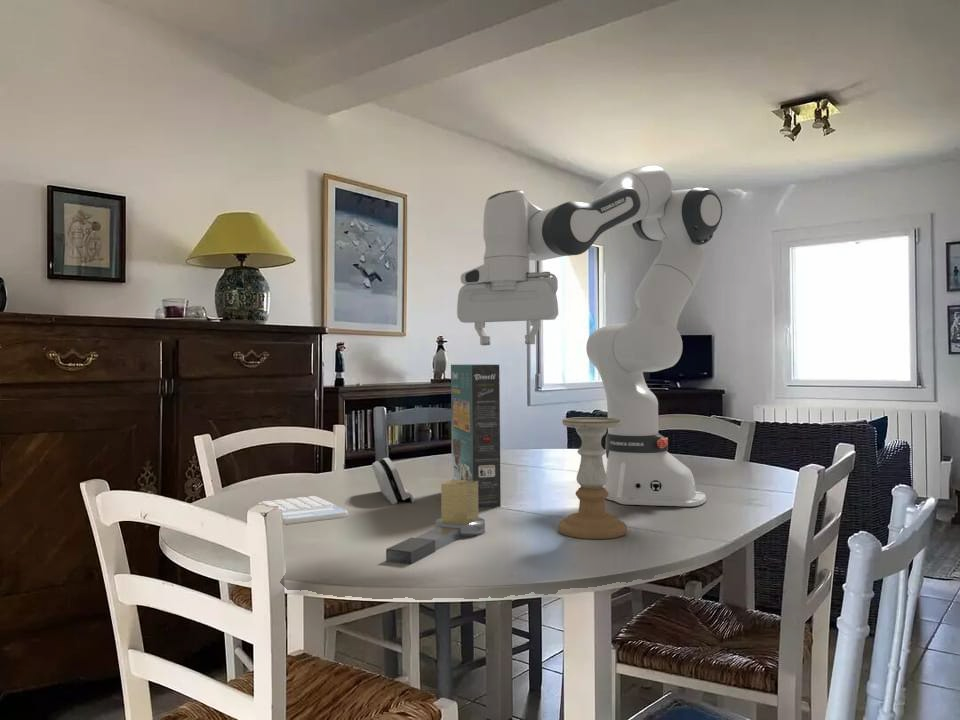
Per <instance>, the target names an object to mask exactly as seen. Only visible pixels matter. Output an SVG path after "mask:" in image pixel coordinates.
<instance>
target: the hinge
mask: <svg viewBox="0 0 960 720" xmlns="http://www.w3.org/2000/svg"><path fill="white" fill-rule="evenodd" d="M371 468H372V471H373V473H374V476H375V478H376V481H377V484H378V486H379V487H378V488H379V490H380V492H381V493H382V494H383V496H384V497H386V499H387V500H388V501H389V502H390V504H392V505H395V504H398V501H399V500H402V501H405V500H407V499H408V500H409V501H410V502H411V503H415V499H414V496H413V494H412V493H410V492H409V491H408V490H407V489H406V488H405V487H404V484H403V482H402V479H401V477H400V474H399V471H398V469H397V467H396V465H395V464H394V463H393V461H392V460H391V459H390V457H384V458H383V457H382V458H381V460H376V461H374V462H373V463H371Z"/></svg>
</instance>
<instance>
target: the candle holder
mask: <svg viewBox="0 0 960 720" xmlns="http://www.w3.org/2000/svg"><path fill="white" fill-rule="evenodd" d="M561 424H562V426H564V427H567V428H575V431H576V434H577V435H578V436H579V437H580V439H581V446H580V447H579V448H578V449H577V454H578V455H580V463H579V467H578V470H577V471H578V472H577V474H576V481H577V483H578V485H579V488H578V489H577V490H576V491H575V496H576V497H577V499H579V505H578V512H574V513H571V514H569V515H568V516H567V517H566V518H564V519H562V520H560V521H559V522H558V524H557V529H558V532H559V533H561V535H564V536H567V537H571V538H576V539H583V540H586V539H587V540H608V539H615V538H620V537H623V536H625V535H626V534H627V532H628V525H627V524H626V523H625V522H624V521H622V520H619V519H618V517H617V516H616V515H614V514H610V513H607V512H606V511H607V509H606V503H605V500H607V499H606V498H607V497H608V495H609V493H608V492H607V491H606V489H605V488H604V485H605V484H606V482H607V475H606V469H605V465H604V461H603V459H604V458H603V456H604V455H606V448H604V447H603V446H602V440H603V437H604V436H605V435H606V434H607V432H608V428H610V427H617V426H619V425H620V424H621V420H620V419H616V418H608V417H603V416H599V417H597V416H594V417H593V416H592V417H591V416H586V417H585V416H583V417H582V416H581V417H580V416H579V417H578V416H577V417H568V418H567V417H566V418H562V421H561Z"/></svg>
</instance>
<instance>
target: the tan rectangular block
mask: <svg viewBox="0 0 960 720" xmlns="http://www.w3.org/2000/svg"><path fill="white" fill-rule="evenodd" d="M440 486H441V487H440V488H441V489H440V490H441V491H440V493H441V494H440V495H441V497H440V498H441V499H440V501H441V509H440V510H441V515H440V516H441V517H440V518H441V523H449V524H459V525H468V524H470V523H472V522H474V521H476V520H478V517H479V508H478V481H470V480H455V479H453V480H452V479H451V480H448V481H445V482H442V483H441V485H440Z"/></svg>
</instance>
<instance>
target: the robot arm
mask: <svg viewBox="0 0 960 720" xmlns="http://www.w3.org/2000/svg"><path fill="white" fill-rule="evenodd" d="M526 196H527V195H526V194H525V192H524V191H523V190H522V191H521V190H518V189H515V190H513V189H512V190H506V191H501V192H497V193H495V194H493V195H490V196H489V198H487V200H486V202H485V206H484V210H483V222H482V223H483V227H482V228H483V234H482V235H483V241H484V244H485V249H484V250H485V252H484V255H483V264H481V265H479V266H477V267H475V268H472V269H470V270H467V271H465V272H463V273H461V275H460V283H461V284H462V286H461V287H460V289H459V291H458V294H457V303H456V304H457V305H456V307H457V308H456V311H457V312H456V316H457V319H458V320H459V321H460V323H464V324H471V323H473V324H474V329H475V331H476V333H477V335H478V336H479V342H480V343H479V345H480V346H491V336H490V335H489V336H488V335H487V333H486V332H485V331H484V329H485V328H486V323H494V322H495V323H501V322H502V323H503V322H505V323H506V322H527V321H528V322H529V325H530V327H531V329H530V331H529V333H528V334H525V335H524V339H525V340H524V343H525V345H536V335H537V334H538V331H539V330H540V328H541V324H542V323H541V321H551V320H552V321H555V320H556V318H557V317H558V316H559V305H558V296H557V293H558V292H557V291H558V288H559V287H558V281H559V280H558V278H557V277H556V275H555V274H553V273H551V272H550V271H542V272H538V271H533V272H532V271H531V272H530V261H536V262H539V261H546V260H552V259H556V258H561V257H569V256H570V257H571V256H580V255H582V254H584V253H585V252H587V251H588V250H589V249H590V248H591V247H592V245H594V243H595V242H596V240H597V239H598V238H599V237H600V236H601V235H602V234H603V233H604V232H606V231H608V230H610V229H612V228H613V229H614V228H615V229H617V228H622V227H624V226H625V227H626V226H629V225H632V228H633V231H634V232H635V233H636V235H637V237H639V238H640V239H642V240H645V241H649V242H658V241H662V242H661V248H660V251H659V254H658V255H657V256H656V257H655V259H654V261H653V262H652V263H651V265H650V267H649V269H648V270H647V272H646V273H645V276H644V277H643V279H642V280H641V282H640V284H639V286H638V287H637V289H636V291H635V293H634V303H635V305H636V306H637V307H636V308H637V312H636V315H635V317H634V318H633V319H632V320H631V321H629V322H624V323H623V322H622V323H611V324H607V325H604V326H601V327H599V328H598V329H595V330H594V331H592V332H591V334H590V335H589V337H588V338H587V341H586V354H587V357H588V359H589V361H590V363H591V364H592V365H593V366H594V367H595V368H596V369H597V372H598V374H599V376H600V380H601V381H602V385H603V389H604V393H605V398H606V405H607V406H606V408H607V409H606V410H607V418H616V419H620V420H621V424H620V425H619V426H617V427H610V428H607V432H606V434H605V435H606V436H605V451H606V453H605V456H606V460H607V461H606V469H605V472H606V475H607V482H606V484H605V485H604V486H603V487H604V488H605V489H606V491H607V492H608V493H609V495H608V497H607V498H606V499H605V500H609V501H613V502H615V503H618V504H620V505H631V506H632V505H633V506H634V505H635V506H636V505H637V506H638V505H639V506H661V507H662V506H663V507H664V506H665V507H697V506H701V505H703V504H704V503H705V502H706V500H707V497H706V494H705V493H704V492H702V491H697V490H696V489H697V488H696V483H695V478H694V475H693V473H692V471H691V469H690V468H689V467H688V466H687V465H685V464H684V463H683V462H681V461H680V460H679V459H678V458H676V457H675V456H673V454H671V453H670V452H668V449H669V438H668V437H665V436H663V435H662V434H660V433H659V401H658V398H657V396H656V395H655V394H654V392H653V391H651V389H650V388H649V387H648V385H647V383H646V381H645V380H646V379H645V377H644V373H654V372H659V371H662V370H665V369H669V368H672V367H674V366H675V365H676V364H677V363H678V362H679V360H680V359H681V356H682V354H683V346H684V345H683V340H682V335H681V333H680V331H679V330H678V323H679V318H680V316H681V314H682V311H683V310H684V308H685V306H686V304H687V302H688V300H689V298H690V296H691V294H692V292H693V291H694V289H695V288H696V285H697V283H698V280H699V279H700V277H701V274H702V270H703V267H704V265H705V261H706V252H705V248H704V246H702V245H705V244H707V243H708V242H709V241H711V239H712V238H713V236H714V233H715V232H716V231H717V229H718V227H719V225H720V222H721V220H722V216H723V206H722V202H721V200H720V198H719V195H718V194H717V193H716V192H715V191H714V190H712V189H709V188H703V187H694V188H691V189H678V190H673V184H672V179H671V176H670V174H669V173H668V172H667V171H666V170H665V169H664V168H662V167H659V166H656V165H647V166H641V167H636V168H633V169H629V170H626V171H623V172H620V173H619V174H616V175H614V176H611V177H610V178H608V179H607V180H605V181H604V182H602V183H601V184H600V185H599V186H598V187H597V188H596V190H595V193H594V200H592V201H591V202H580V201H567V202H565V203H561V204H559V205H556V206H554V207H550V208H548V209H545V210H544V209H541V208H540V207H538V206H536V205H535V204H534V203H533V202H531V201H530V200H529V199H528V198H527V197H526Z"/></svg>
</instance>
